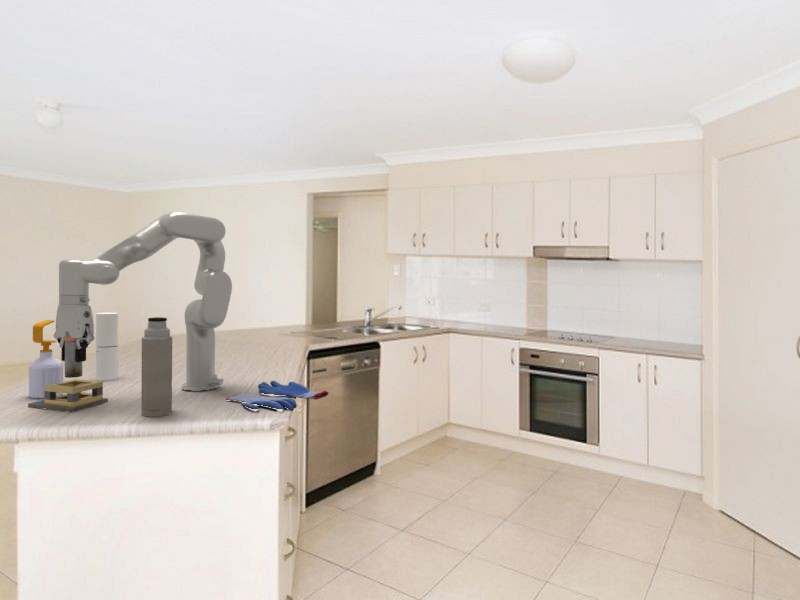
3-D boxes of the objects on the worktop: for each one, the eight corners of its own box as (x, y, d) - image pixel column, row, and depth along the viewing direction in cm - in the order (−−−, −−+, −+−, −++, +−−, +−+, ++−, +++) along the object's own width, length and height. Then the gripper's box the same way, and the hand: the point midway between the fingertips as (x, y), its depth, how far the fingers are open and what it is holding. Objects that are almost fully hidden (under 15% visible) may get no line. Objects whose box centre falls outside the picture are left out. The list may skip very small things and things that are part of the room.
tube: (86, 375, 153) (86, 330, 152) (72, 378, 148) (73, 331, 147) (74, 374, 154) (74, 329, 153) (60, 377, 149) (60, 330, 149)
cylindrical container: (107, 381, 184) (107, 314, 183) (91, 380, 186) (91, 313, 185) (122, 377, 191) (122, 313, 190) (106, 376, 193) (106, 312, 192)
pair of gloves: (276, 417, 145) (276, 405, 145) (211, 406, 156) (211, 394, 156) (335, 395, 174) (335, 385, 174) (277, 387, 185) (277, 377, 185)
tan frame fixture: (107, 401, 156) (107, 381, 156) (71, 412, 144) (70, 389, 143) (67, 397, 160) (67, 377, 160) (28, 407, 148) (27, 385, 147)
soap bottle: (69, 393, 165) (69, 320, 163) (42, 400, 156) (41, 322, 155) (50, 391, 168) (50, 318, 166) (22, 397, 159) (21, 320, 158)
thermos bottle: (136, 416, 141) (136, 318, 139) (148, 409, 149) (148, 316, 147) (165, 417, 141) (166, 319, 140) (176, 409, 149) (176, 316, 148)
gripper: (107, 301, 151) (106, 361, 152) (63, 299, 156) (62, 357, 157) (85, 302, 144) (85, 365, 145) (40, 300, 148) (40, 360, 149)
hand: (73, 360), depth 151 cm, fingers closed on tube, 4 cm apart
